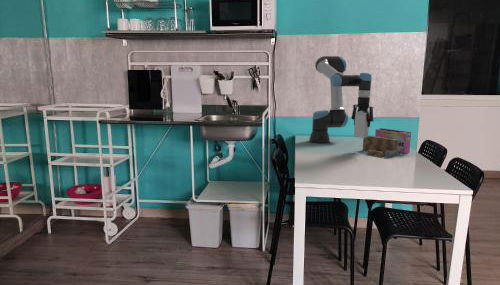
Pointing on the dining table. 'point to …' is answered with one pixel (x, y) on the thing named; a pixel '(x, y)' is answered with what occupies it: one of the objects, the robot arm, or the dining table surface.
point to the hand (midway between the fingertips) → (361, 130)
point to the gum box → (396, 138)
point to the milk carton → (360, 124)
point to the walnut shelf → (379, 145)
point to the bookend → (390, 153)
